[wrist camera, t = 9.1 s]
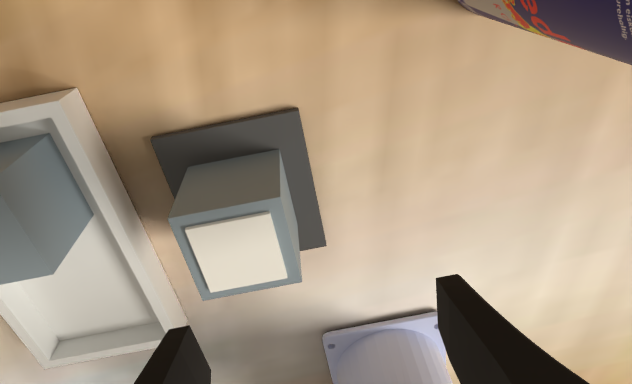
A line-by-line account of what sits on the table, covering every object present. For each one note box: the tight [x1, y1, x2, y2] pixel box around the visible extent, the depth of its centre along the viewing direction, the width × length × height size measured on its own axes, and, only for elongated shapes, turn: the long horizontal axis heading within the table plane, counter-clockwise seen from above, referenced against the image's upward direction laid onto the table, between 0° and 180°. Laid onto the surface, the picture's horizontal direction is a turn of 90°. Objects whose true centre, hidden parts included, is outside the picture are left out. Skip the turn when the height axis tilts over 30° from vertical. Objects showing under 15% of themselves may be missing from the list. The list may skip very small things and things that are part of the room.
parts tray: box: [0, 88, 188, 369], centre depth 21 cm, size 15×8×2 cm, turn 10°
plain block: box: [0, 133, 94, 285], centre depth 18 cm, size 4×4×4 cm
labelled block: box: [167, 149, 302, 301], centre depth 19 cm, size 4×4×5 cm
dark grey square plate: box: [150, 108, 326, 251], centre depth 22 cm, size 8×7×1 cm
